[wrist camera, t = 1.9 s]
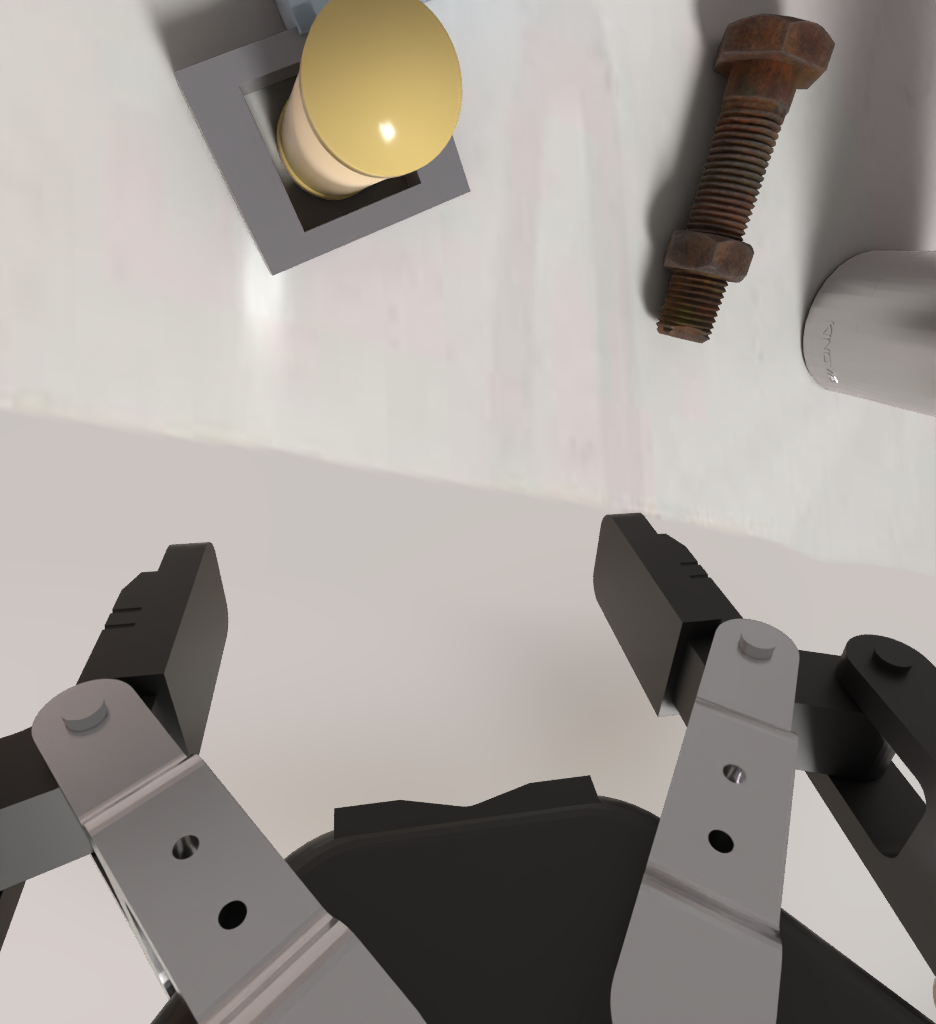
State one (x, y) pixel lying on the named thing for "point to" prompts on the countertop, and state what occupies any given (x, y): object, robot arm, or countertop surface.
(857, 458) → the countertop surface
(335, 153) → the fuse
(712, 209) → the bolt
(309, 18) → the parts tray
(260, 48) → the fuse holder
